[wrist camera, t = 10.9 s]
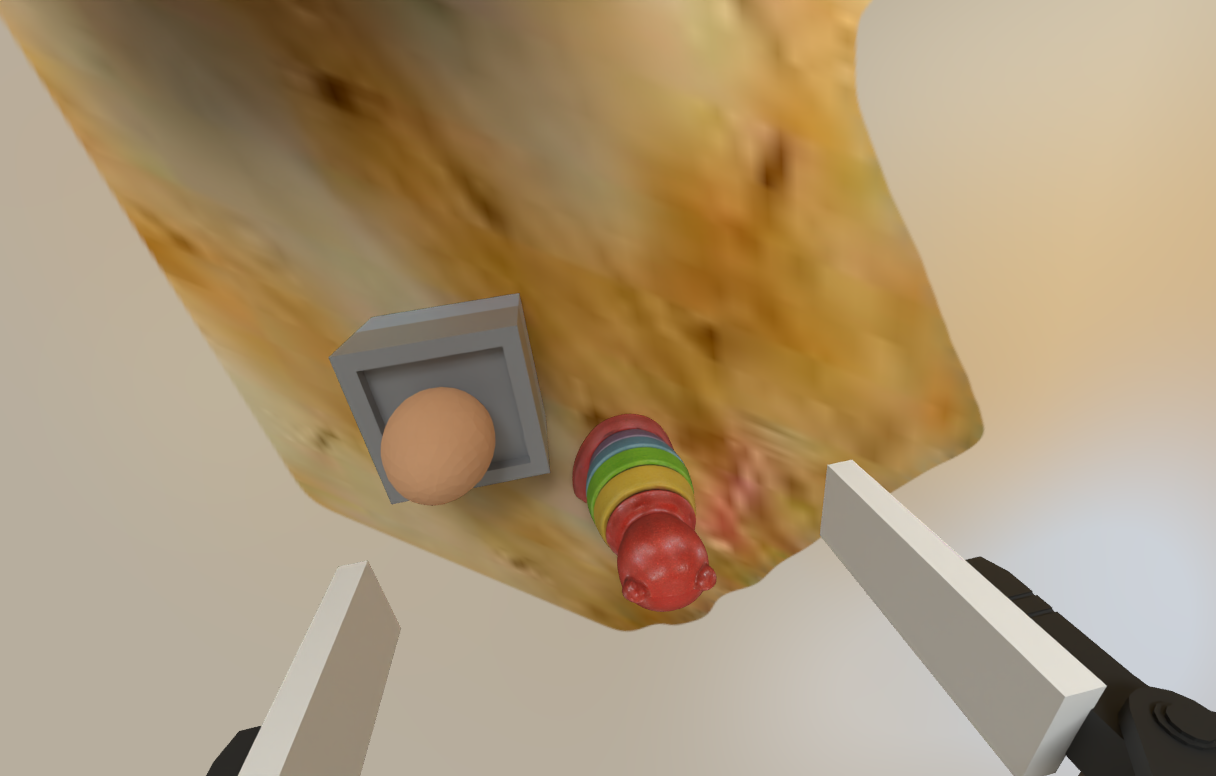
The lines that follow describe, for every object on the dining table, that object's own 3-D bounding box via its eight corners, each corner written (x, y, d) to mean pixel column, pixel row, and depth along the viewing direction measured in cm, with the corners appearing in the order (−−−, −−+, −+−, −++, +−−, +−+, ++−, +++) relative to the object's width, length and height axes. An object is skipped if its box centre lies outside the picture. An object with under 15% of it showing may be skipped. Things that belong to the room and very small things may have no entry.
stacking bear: (572, 499, 48) (594, 660, 32) (570, 414, 44) (595, 551, 28) (672, 490, 50) (740, 640, 34) (679, 407, 45) (762, 534, 30)
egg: (404, 451, 34) (365, 537, 26) (397, 366, 31) (351, 433, 23) (498, 452, 35) (489, 534, 27) (499, 370, 32) (490, 435, 24)
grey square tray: (371, 317, 37) (328, 357, 29) (519, 293, 38) (517, 325, 30) (417, 441, 42) (391, 504, 34) (545, 417, 43) (550, 472, 35)
